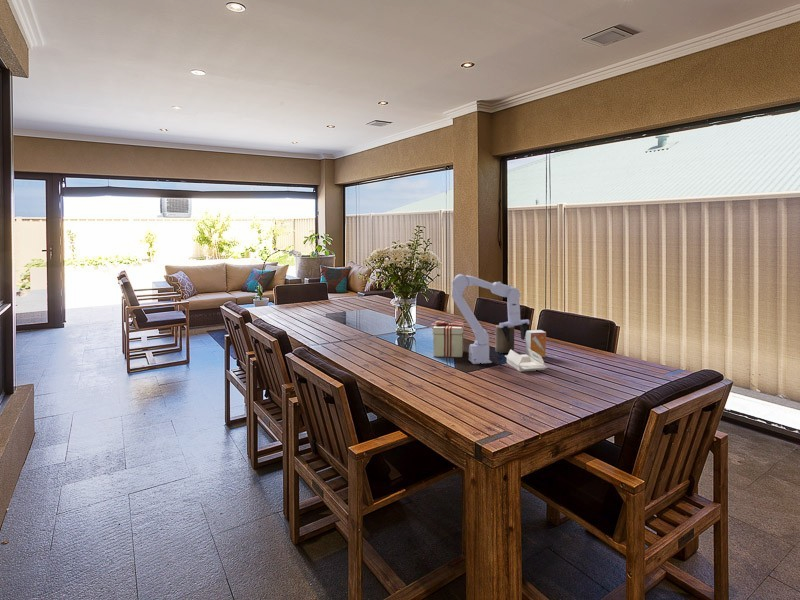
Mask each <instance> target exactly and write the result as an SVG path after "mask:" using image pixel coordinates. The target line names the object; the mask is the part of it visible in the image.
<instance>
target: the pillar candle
mask: <svg viewBox="0 0 800 600" xmlns="http://www.w3.org/2000/svg"><path fill="white" fill-rule="evenodd" d="M508 328H510V333H509V337H510V342H507V341H506V338H505V335H504V333H503V331H502V329H501V327H500V325H499V324H496V325H495V341H494V342H495V347H494V348H495V349H494V350H495V352H496V353H498V352H499V354H503V353H509V351H510V349H511V350H513V351H514V352H515V326H509V327H508Z"/></svg>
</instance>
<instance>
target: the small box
mask: <svg viewBox="0 0 800 600" xmlns="http://www.w3.org/2000/svg"><path fill="white" fill-rule="evenodd" d="M546 346H547V332H546V331H544V330H542V329H532V330H527V331H526V334H525V350H524V351H525V353H524V354H526V355H528V356H529V357H531V355H530V353H529V351H528V349H530V350H532V351H534V352H536V353H537V354H539V355H541V356H542V357H545V358H546V348H547V347H546Z"/></svg>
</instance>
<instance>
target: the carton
mask: <svg viewBox="0 0 800 600" xmlns="http://www.w3.org/2000/svg"><path fill="white" fill-rule="evenodd" d="M520 355H521V356H522V357H523V358H522V360H521V363H520V365H519V366H518V365H516V364H515V363H513V362H512V361H510V360H509V359H508V358H507V356H508V354H505V355H504V357H505V358H506V363H507V364H508V365H509V366H510V367H512V368H513V367H514V368H513V369H515V370H517V372H519V373H520V372H521V373H522V372H533V371H534V372H537V371H536V370H538V371H545V369H548V368H549V367H548V366H547V365H545V364H543V363H541V362H539V361H538V360H536V359H534V358H532V357H529V356H528V355H526V354H525V353H523V354H520Z"/></svg>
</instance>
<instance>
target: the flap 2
mask: <svg viewBox="0 0 800 600" xmlns="http://www.w3.org/2000/svg"><path fill="white" fill-rule="evenodd" d="M528 351H529V353H530V355H531V357H532V358H533V359H535V360H537V361H538V362H540V363H542V364H543V365H545V361H544V358H542V356H541V355H539V354H537V353H536V352H534V351H532V350H530V349H528Z"/></svg>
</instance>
